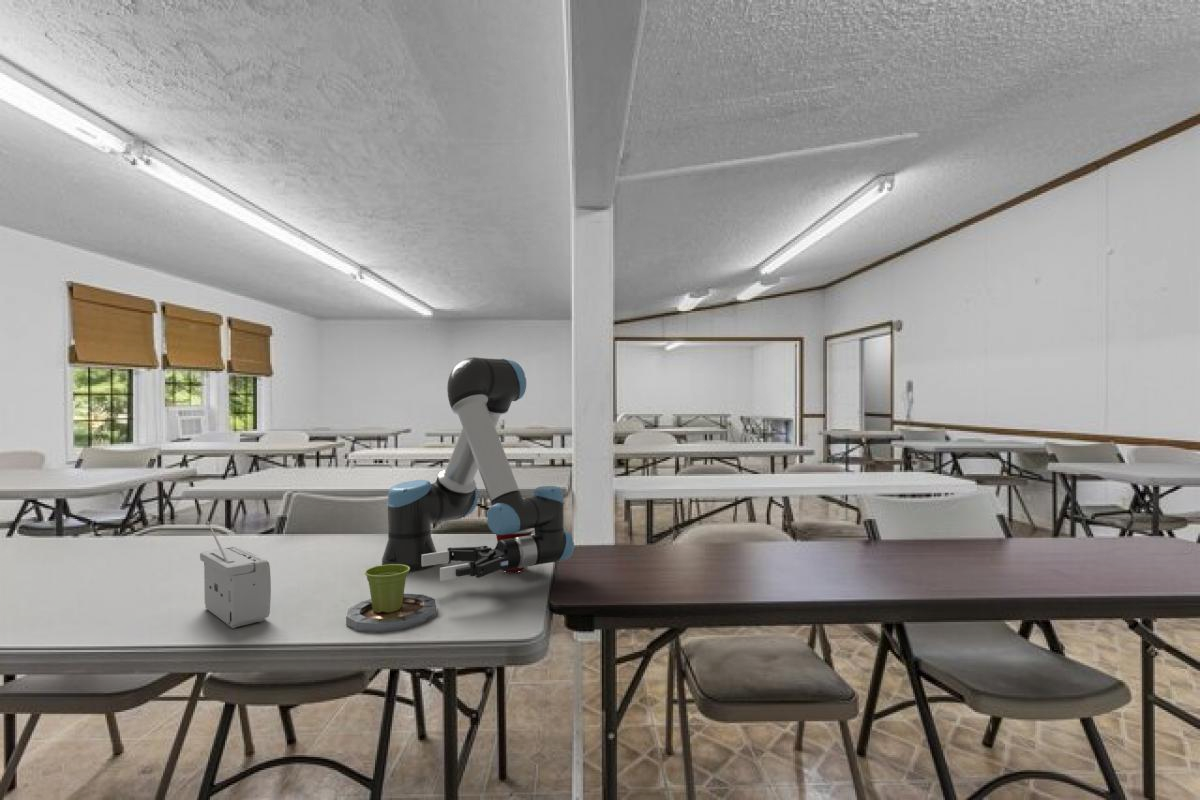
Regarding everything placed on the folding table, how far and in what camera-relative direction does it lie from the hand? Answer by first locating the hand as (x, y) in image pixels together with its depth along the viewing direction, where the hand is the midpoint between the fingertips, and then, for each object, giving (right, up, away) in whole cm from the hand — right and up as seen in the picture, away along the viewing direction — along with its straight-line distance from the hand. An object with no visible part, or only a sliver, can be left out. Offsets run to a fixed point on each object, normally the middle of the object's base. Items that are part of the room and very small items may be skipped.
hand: (430, 567), depth 134 cm
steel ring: (-6, -8, -7) cm, 13 cm away
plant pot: (-8, -8, -5) cm, 12 cm away
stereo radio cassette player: (-41, -9, -6) cm, 43 cm away
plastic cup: (+15, -8, +26) cm, 31 cm away
